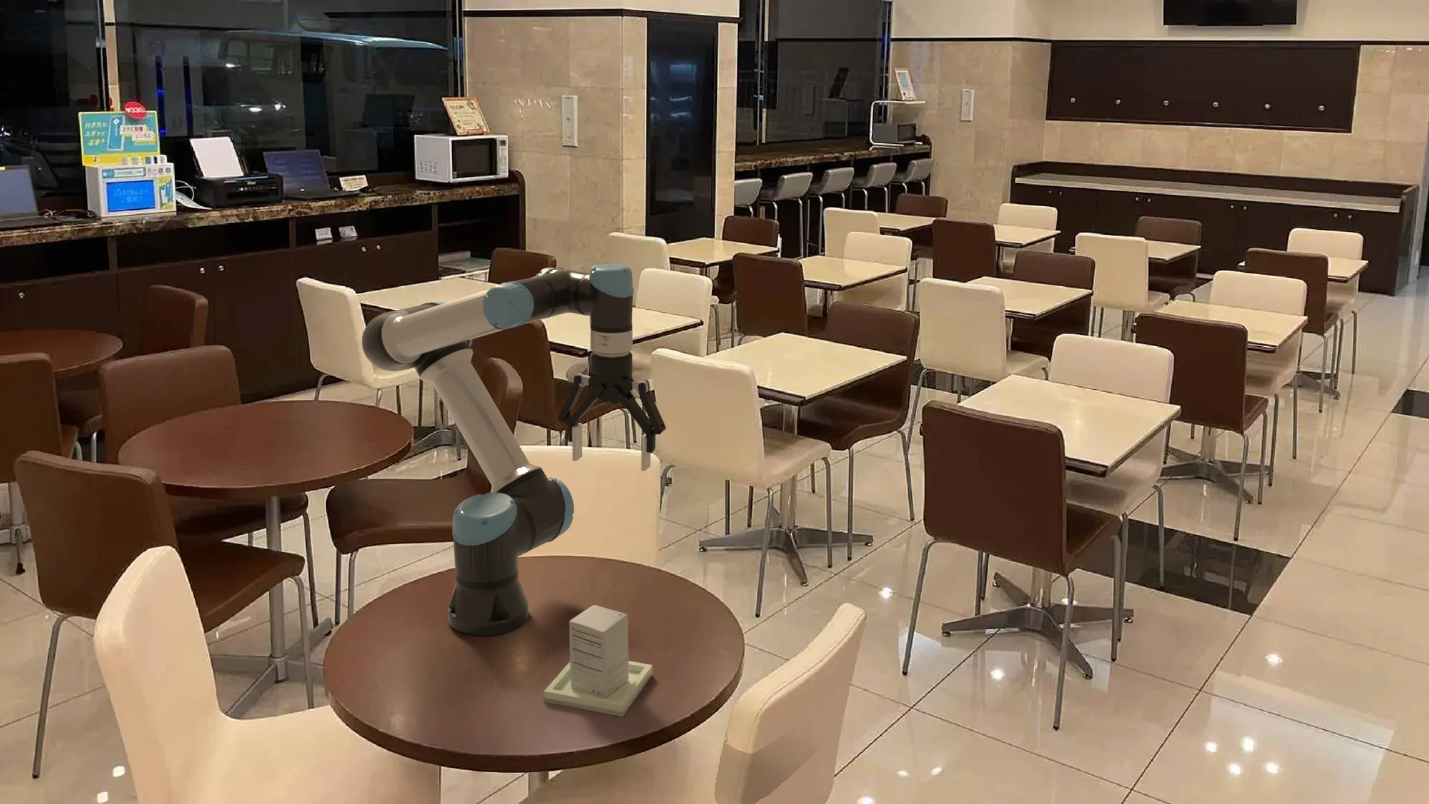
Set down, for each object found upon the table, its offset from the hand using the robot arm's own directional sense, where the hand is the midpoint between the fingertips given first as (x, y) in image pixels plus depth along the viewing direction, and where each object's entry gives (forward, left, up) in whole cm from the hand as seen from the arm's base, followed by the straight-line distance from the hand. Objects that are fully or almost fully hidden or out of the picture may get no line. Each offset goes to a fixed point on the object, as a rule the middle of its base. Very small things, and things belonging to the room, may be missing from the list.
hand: (611, 463), depth 216 cm
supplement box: (+8, -25, -31) cm, 40 cm away
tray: (+8, -25, -31) cm, 41 cm away
